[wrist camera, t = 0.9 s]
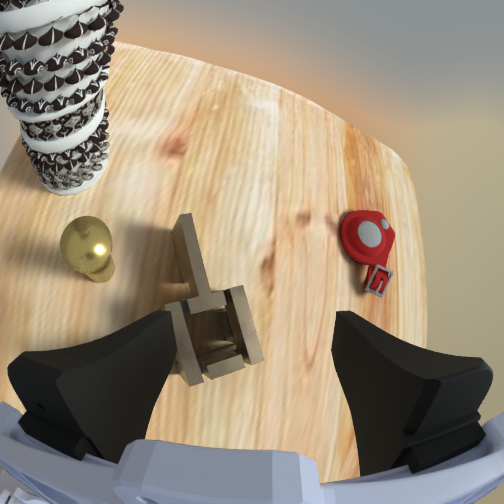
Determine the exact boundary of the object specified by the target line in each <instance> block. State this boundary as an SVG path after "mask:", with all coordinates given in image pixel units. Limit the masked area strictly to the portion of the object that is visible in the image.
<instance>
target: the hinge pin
mask: <svg viewBox="0 0 504 504" xmlns="http://www.w3.org/2000/svg"><path fill="white" fill-rule="evenodd" d="M60 250H61V254H62V257H63V259H64V260H65V262H66V263H67V264H68V265H69V266H70V267H71V268H72V269H74V270H75V271H78V272H81V273H85V274H86V275H87V276H88V277H90V278H91V279H92V280H93V281H95V282H97V283H104V282H106V281H108V280H109V279H110V278H111V277H112V276H113V273H114V262H113V259H112V256H111V252H112V238H111V234H110V231H109V229H108V227H107V226H106V225H105V223H104V222H102V221H101V220H100V219H98V218H96V217H92V216H83V217H79V218H77V219H75V220H73V221H72V222H70V223H69V224H68V226H67V227H66V228H65V230H64V232H63V234H62V237H61V241H60Z"/></svg>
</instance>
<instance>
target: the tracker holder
mask: <svg viewBox="0 0 504 504" xmlns="http://www.w3.org/2000/svg"><path fill="white" fill-rule="evenodd" d="M340 234H341V241H342V244H343V247H344V249H345V251H346V252H347V253H348V254H349V255H350V256H351V257H352V258H353V259H354V260H356V261H357V262H359V263H362V264H365V265H369V269H368V274H367V280H366V288H365V290H366V291H368V292H370V293H372V294H375V295H377V296H379V297H383V295H384V293H385V291H386V289H387V287H388V284H389V282H390V280H391V278H392V276H393V274H394V272H393V271H391V270H388V269H387V268H386V263H387V259H388V255H389V252H390V250H391V248H392V245H393V241H394V238H395V232H394V230H393V229H392V227H391V226H390V224H389V223H388V221H387V220H386V218H385V217H384V215H383V214H382V213H381V212H378V211H369V210H359V211H353V212H351V213H349V214H348V215H347V216H346V217H345V218H344V220H343V221H342V224H341V230H340ZM388 273H390V275H389V277H388Z"/></svg>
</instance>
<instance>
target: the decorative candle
mask: <svg viewBox="0 0 504 504" xmlns="http://www.w3.org/2000/svg"><path fill="white" fill-rule="evenodd" d="M108 8H109V12H108ZM123 9H124V6H123V5H121V4H120V2H119V1H118V0H0V87H2V90H1V95H2V97H7V100H6V102H7V105H8V109H9V110H10V112H11V113H12V114H13V115H14V116H15V117H16V119H18V120H19V121H20V130H21V133H22V136H23V140H22V144H23V146H24V147H26V148H27V149H26V151H27V155H28V156H29V157H31V164H32V166H33V167H34V168H35V172H36V174H37V175H38V176H39V178H40V181H41V183H42V184H43V185H44V186H45V187H46V188H47V189H48V191H49V192H52V193H55V194H58V195H61V196H65V195H76V194H78V193H80V192H82V191H84V190H86V189H88V188H90V187H91V186H92V185H93V184H94V183H95V182H96V181H97V180H99V179H100V178H101V176H102V174H103V172H104V170H105V168H106V167H107V165H108V154H109V149H108V147H109V142H105V140H107V139H108V138H109V133H106V132H105V131H104V130H106V129H107V128H108V125H109V122H108V121H107V120H105V119H107V117H108V115H109V111H108V110H107V109H105V107H106V102H105V94H104V92H103V86H104V85H105V84H106V81H107V79H108V73H109V70H110V65H109V64H108V63H109V62H110V61H111V54H113V52H114V50H115V47H114V46H113V45H112V43H113V42H114V39H115V38H114V36H115V35H116V34H117V32H118V29H117V28H116V27H114V26H113V23H112V22H113V21H115V20H117V19H118V18H119V16H120V13H121V12H122V11H123ZM105 33H106V34H105ZM105 49H106V50H105ZM104 50H105V52H104ZM4 69H5V72H3V70H4Z"/></svg>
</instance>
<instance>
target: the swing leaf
mask: <svg viewBox="0 0 504 504" xmlns="http://www.w3.org/2000/svg"><path fill="white" fill-rule="evenodd" d="M171 234H172V238H173V243H174V247H175V252H176V256H177V260H178V265H179V269H180V273H181V277H182V281H183V284H184V283H189V286H190V290H191V294H192V297H193V298H190V299H186V300H183V301H182V304H183V308H184V311H185V315H189V314H194V313H198V312H202V311H206V310H209V309H213V308H217V307H220V306H225V309H226V313H227V316H228V320H229V323H230V327H231V330H232V334H233V337H234V341H235V344H236V347H237V351H238V353H235V352H232V351H230V352H227V353H224V354H221V355H218V356H215V357H212V358H209V359H206V360H203V361H199V362H200V365H201V368H202V371H203V374H204V375H205V376H207V377H208V378H210V379H211V380H212V379H215V378H218V377H221V376H223V375H226V374H229V373H232V372H235V371H237V370H240V369H243V368H245V365H244V363H247V364H250V365H253V364H256V363H258V362H261V361H263V360H264V357H263V354H262V350H261V347H260V343H259V340H258V336H257V333H256V329H255V326H254V322H253V319H252V315H251V312H250V308H249V305H248V301H247V298H246V294H245V290H244V287H243V285H241V286H237V287H233V288H229V289H226V290H221V291H218V292H214V293H211V290H210V287H209V283H208V279H207V275H206V272H205V268H204V264H203V260H202V256H201V252H200V248H199V244H198V240H197V235H196V231H195V227H194V223H193V218H192V214H191V213H188V214H181V215H179V217H178V219H177V221H176V223H175V225H174V228H173V230H172V232H171ZM162 310H163V311H171V314H172V321H173V327H174V333H175V338H176V344H177V352H176V358H177V361H178V364H179V367H180V370H181V373H182V376H183V379H184V381H185V382H186V383H187V384H188V385H189V386H193V385H196V384H200V383H203V382H204V380H203V377H202V374H201V371H200V368H199V365H198V362H197V359H196V356H195V353H194V349H193V346H192V343H191V340H190V336H189V333H188V329H187V326H186V322H185V319H184V315H183V312H182V308H181V304H180V301H177V302H173V303H169V304H165V305H163V306H162Z"/></svg>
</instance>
